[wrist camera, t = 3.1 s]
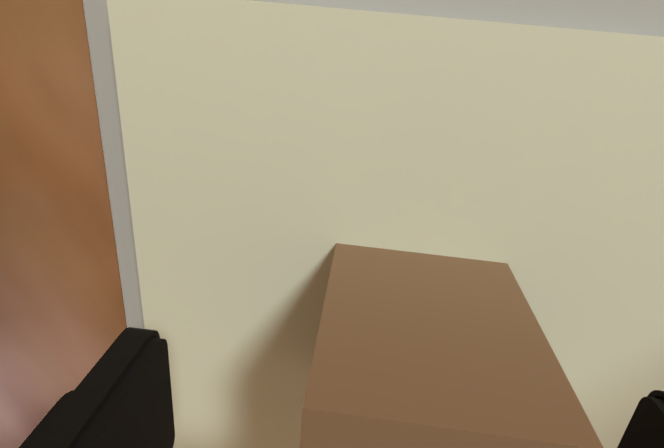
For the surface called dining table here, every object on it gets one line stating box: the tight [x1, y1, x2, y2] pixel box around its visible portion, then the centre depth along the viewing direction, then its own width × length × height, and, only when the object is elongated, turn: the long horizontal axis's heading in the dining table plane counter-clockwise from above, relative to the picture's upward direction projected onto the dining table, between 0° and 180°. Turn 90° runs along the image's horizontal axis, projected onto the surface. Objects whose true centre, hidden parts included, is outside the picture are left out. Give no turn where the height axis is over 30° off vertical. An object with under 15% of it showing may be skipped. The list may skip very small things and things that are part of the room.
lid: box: [107, 0, 664, 448], centre depth 9 cm, size 14×14×6 cm
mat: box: [83, 0, 664, 329], centre depth 12 cm, size 16×16×1 cm
